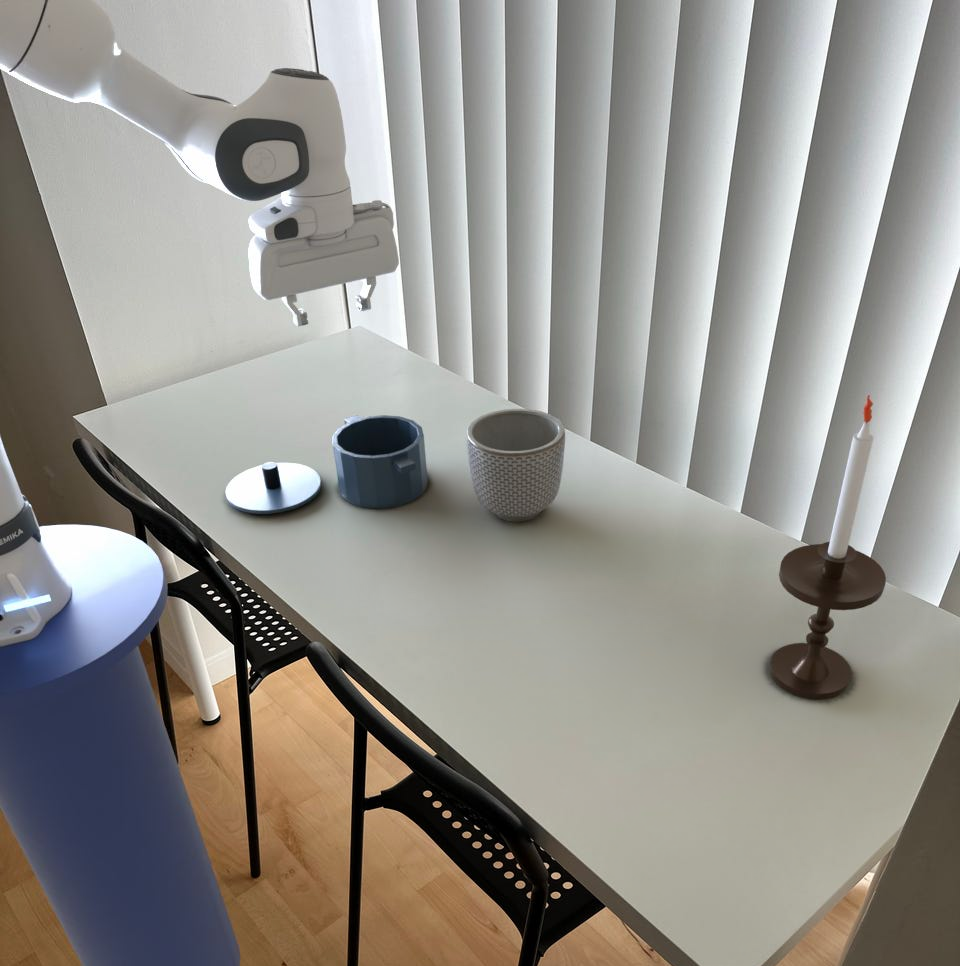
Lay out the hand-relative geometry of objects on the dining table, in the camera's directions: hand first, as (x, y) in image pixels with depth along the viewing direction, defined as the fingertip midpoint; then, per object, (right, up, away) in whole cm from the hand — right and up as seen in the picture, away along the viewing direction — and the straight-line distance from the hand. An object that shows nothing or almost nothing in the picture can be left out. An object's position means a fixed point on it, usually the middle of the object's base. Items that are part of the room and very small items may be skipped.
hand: (333, 317), depth 135 cm
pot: (+5, -21, +17) cm, 27 cm away
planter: (+26, -25, +10) cm, 38 cm away
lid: (-12, -21, +16) cm, 29 cm away
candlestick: (+59, -49, -21) cm, 79 cm away
